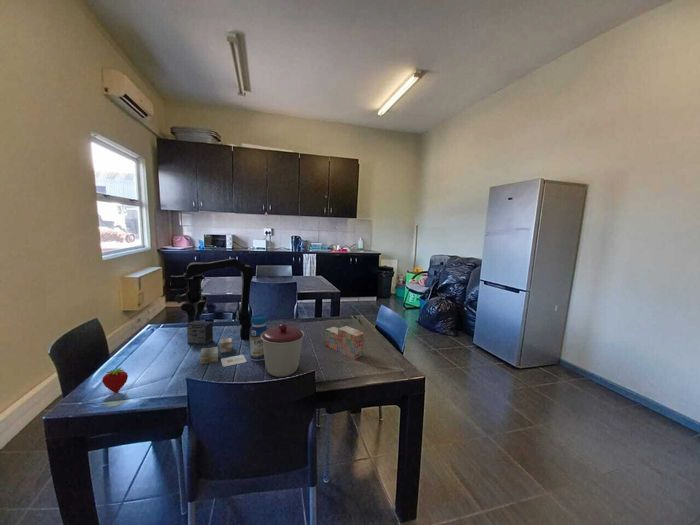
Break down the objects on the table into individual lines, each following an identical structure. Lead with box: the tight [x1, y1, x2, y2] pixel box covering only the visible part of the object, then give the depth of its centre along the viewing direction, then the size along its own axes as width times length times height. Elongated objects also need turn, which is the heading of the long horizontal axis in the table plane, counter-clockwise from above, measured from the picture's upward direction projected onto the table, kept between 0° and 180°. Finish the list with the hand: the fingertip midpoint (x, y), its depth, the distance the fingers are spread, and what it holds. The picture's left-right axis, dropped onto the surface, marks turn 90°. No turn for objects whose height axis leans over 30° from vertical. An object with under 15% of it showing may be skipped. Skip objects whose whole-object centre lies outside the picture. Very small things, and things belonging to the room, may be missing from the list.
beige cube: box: [219, 337, 233, 354], centre depth 142 cm, size 5×5×5 cm
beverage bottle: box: [248, 313, 269, 362], centre depth 135 cm, size 8×8×20 cm
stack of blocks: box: [325, 325, 365, 360], centre depth 147 cm, size 21×6×12 cm, turn 47°
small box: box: [186, 320, 214, 346], centre depth 149 cm, size 11×6×10 cm, turn 84°
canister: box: [261, 323, 305, 378], centre depth 124 cm, size 18×18×21 cm
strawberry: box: [101, 364, 129, 394], centre depth 104 cm, size 6×8×10 cm
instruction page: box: [220, 354, 248, 368], centre depth 132 cm, size 10×8×1 cm
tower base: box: [200, 346, 219, 365], centre depth 132 cm, size 7×7×4 cm
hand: (196, 318), depth 145 cm, fingers open, 9 cm apart
